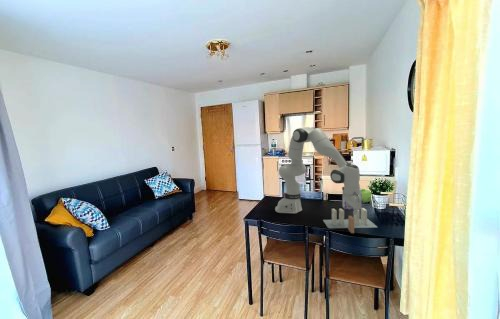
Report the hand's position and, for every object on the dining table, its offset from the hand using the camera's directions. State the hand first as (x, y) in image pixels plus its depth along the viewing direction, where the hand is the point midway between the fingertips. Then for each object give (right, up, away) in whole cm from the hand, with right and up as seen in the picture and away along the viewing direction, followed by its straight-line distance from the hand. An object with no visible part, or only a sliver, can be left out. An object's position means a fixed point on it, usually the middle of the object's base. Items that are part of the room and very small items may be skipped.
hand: (351, 211), depth 140 cm
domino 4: (+9, -11, +13) cm, 20 cm away
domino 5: (+14, -11, +13) cm, 22 cm away
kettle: (+37, -5, +58) cm, 69 cm away
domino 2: (-1, -12, +14) cm, 18 cm away
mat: (+4, -12, +14) cm, 19 cm away
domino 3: (0, -14, +2) cm, 14 cm away
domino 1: (-6, -12, +14) cm, 19 cm away
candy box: (+20, -8, +43) cm, 48 cm away
